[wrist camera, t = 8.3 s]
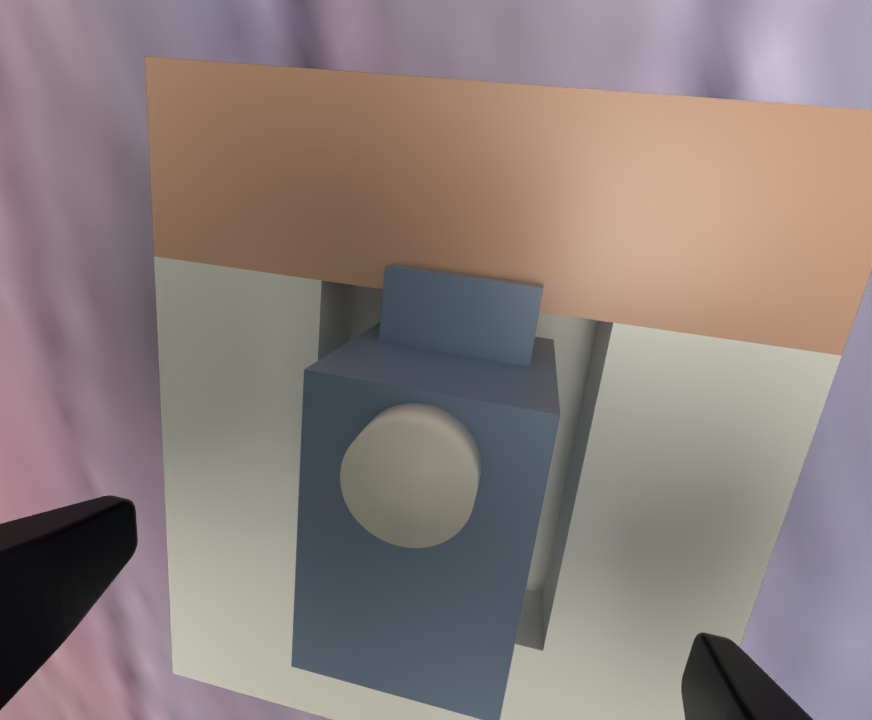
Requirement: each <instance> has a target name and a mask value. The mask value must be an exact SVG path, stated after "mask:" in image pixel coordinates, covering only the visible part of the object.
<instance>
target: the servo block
mask: <svg viewBox="0 0 872 720" xmlns="http://www.w3.org/2000/svg"><path fill="white" fill-rule="evenodd" d="M542 294H543V284H537V283H530V282H523V281H516V280H508V279H501V278H494V277H487V276H480V275H472V274H465V273H458V272H451V271H444V270H437V269H429V268H422V267H415V266H408V265H401V264H390V265H387V266H385V272H384V283H383V295H382V307H381V318H380V322H379V323H378V324H376V325H374V326H373V327H371V328H370V329H368V330H366V331H365V332H363V333H362V334H360V335H358V336H357V337H355V338H354V339H352V340H350V341H349V342H347V343H346V344H344V345H342V346H341V347H339V348H338V349H336V350H334V351H333V352H331V353H330V354H328V355H326V356H325V357H323V358H321V359H320V360H318V361H317V362H315V363H313V364H312V365H310V366H309V367H307V368H305V369H304V380H303V404H302V427H301V450H300V474H299V497H298V520H297V544H296V567H295V590H294V614H293V637H292V660H291V666H292V667H295V668H299V669H302V670H306V671H309V672H313V673H317V674H320V675H324V676H327V677H331V678H335V679H338V680H342V681H345V682H349V683H352V684H356V685H360V686H363V687H367V688H370V689H374V690H378V691H381V692H385V693H388V694H392V695H395V696H399V697H403V698H406V699H410V700H413V701H417V702H421V703H424V704H428V705H431V706H435V707H438V708H442V709H446V710H449V711H453V712H456V713H460V714H464V715H467V716H471V717H474V718H478V719H481V720H500V716H501V711H502V706H503V701H504V696H505V691H506V686H507V681H508V676H509V671H510V666H511V661H512V656H513V651H514V646H515V641H516V636H517V631H518V626H519V621H520V616H521V611H522V606H523V601H524V596H525V591H526V586H527V581H528V576H529V571H530V565H531V560H532V555H533V550H534V545H535V540H536V535H537V530H538V525H539V520H540V515H541V510H542V505H543V500H544V495H545V490H546V485H547V480H548V475H549V470H550V465H551V460H552V455H553V450H554V445H555V440H556V435H557V430H558V425H559V420H560V406H559V395H558V384H557V373H556V361H555V350H554V340H553V339H547V338H540V337H535V334H536V328H537V322H538V317H539V311H540V305H541V299H542Z"/></svg>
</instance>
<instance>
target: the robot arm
mask: <svg viewBox="0 0 872 720" xmlns="http://www.w3.org/2000/svg"><path fill="white" fill-rule="evenodd" d="M137 542H138V538H137V523H136V509H135V505H134V503H133V502H132V501H130V500H129V499H125V498H120V497H116V496H103V497H99V498H96V499H92V500H88V501H84V502H81V503H77V504H73V505H69V506H66V507H62V508H58V509H54V510H51V511H47V512H43V513H39V514H36V515H32V516H28V517H24V518H21V519H17V520H13V521H9V522H6V523H2V524H0V710H1V709H2V708H3V707H4V706H5V705H6V704H7V703H8V702H9V701H10V699H11V698H12V697H13V696H14V695H15V694H16V693H17V692H18V691H19V690H20V689H21V688H22V687H23V686H24V684H25V683H26V682H27V681H28V680H29V679H30V678H31V677H32V676H33V675H34V674H35V673H36V672H37V671H38V669H39V668H40V667H41V666H42V665H43V664H44V663H45V662H46V661H47V660H48V659H49V658H50V657H51V656H52V654H53V653H54V652H55V651H56V650H57V649H58V648H59V647H60V646H61V644H62V643H63V642H64V641H65V640H66V639H67V638H68V636H69V635H70V634H71V633H72V632H73V630H74V629H75V628H76V627H77V626H78V624H79V623H80V622H81V621H82V619H83V618H84V617H85V616H86V614H87V613H88V612H89V610H90V609H91V608H92V607H93V605H94V604H95V603H96V602H97V600H98V599H99V598H100V597H101V595H102V594H103V593H104V592H105V590H106V589H107V588H108V587H109V585H110V584H111V583H112V582H113V580H114V579H115V578H116V576H117V575H118V574H119V573H120V571H121V570H122V569H123V568H124V566H125V565H126V564H127V563H128V561H129V560H130V559H131V557H132V556H133V554H134V552H135V550H136V547H137ZM681 694H682V701H683V708H684V715H685V720H813V719H812V718H811V717H810V716H809V715H808V714H807V713H806V712H805V711H804V710H803V709H802V708H801V707H800V706H799V705H798V704H797V703H796V702H795V701H794V700H793V699H792V698H791V697H790V696H789V695H788V694H787V693H786V692H785V691H784V690H783V689H782V688H781V687H780V686H779V685H777V684H776V683H775V682H774V681H773V680H772V679H771V678H770V677H769V676H768V675H767V674H766V673H765V672H764V671H763V670H762V669H761V668H760V667H759V666H758V665H757V664H756V663H755V662H754V661H753V660H752V659H751V658H750V657H749V656H748V655H747V654H746V653H745V652H744V651H743V650H742V649H741V648H740V647H739V646H738V645H737V644H736V643H734V642H733V641H732V640H731V639H729V638H726V637H722V636H718V635H713V634H709V633H705V632H701V633H699V634H697V635H696V637H695V639H694V641H693V644H692V647H691V651H690V654H689V657H688V660H687V663H686V666H685V669H684V673H683V676H682V682H681Z"/></svg>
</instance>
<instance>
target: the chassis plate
mask: <svg viewBox="0 0 872 720" xmlns="http://www.w3.org/2000/svg"><path fill="white" fill-rule="evenodd" d="M145 68H146V90H147V112H148V134H149V156H150V178H151V200H152V222H153V244H154V265H155V287H156V309H157V331H158V353H159V375H160V397H161V419H162V441H163V463H164V485H165V507H166V529H167V551H168V573H169V595H170V617H171V639H172V661H173V673H174V674H177V675H181V676H184V677H187V678H191V679H194V680H198V681H201V682H205V683H208V684H212V685H215V686H219V687H222V688H225V689H229V690H232V691H236V692H239V693H243V694H246V695H250V696H253V697H256V698H260V699H263V700H267V701H270V702H274V703H277V704H281V705H284V706H288V707H291V708H294V709H298V710H301V711H305V712H308V713H312V714H315V715H319V716H322V717H325V718H329V719H332V720H481V719H478V718H474V717H471V716H467V715H464V714H460V713H456V712H453V711H449V710H446V709H442V708H438V707H435V706H431V705H428V704H424V703H421V702H417V701H413V700H410V699H406V698H403V697H399V696H395V695H392V694H388V693H385V692H381V691H378V690H374V689H370V688H367V687H363V686H360V685H356V684H352V683H349V682H345V681H342V680H338V679H335V678H331V677H327V676H324V675H320V674H317V673H313V672H309V671H306V670H302V669H299V668H295V667H292V666H291V660H292V637H293V614H294V590H295V567H296V544H297V520H298V497H299V474H300V450H301V427H302V404H303V380H304V369H305V368H307V367H309V366H310V365H312V364H313V363H315V362H317V361H318V360H320V359H321V358H323V357H325V356H326V355H328V354H330V353H331V352H333V351H334V350H336V349H338V348H339V347H341V346H342V345H344V344H346V343H347V342H349V341H350V340H352V339H354V338H355V337H357V336H358V335H360V334H362V333H363V332H365V331H366V330H368V329H370V328H371V327H373V326H374V325H376V324H378V323H379V322H380V318H381V307H382V295H383V283H384V272H385V266H387V265H390V264H401V265H408V266H415V267H422V268H429V269H437V270H444V271H451V272H458V273H465V274H472V275H480V276H487V277H494V278H501V279H508V280H516V281H523V282H530V283H537V284H543V294H542V299H541V305H540V311H539V317H538V322H537V328H536V334H535V337H540V338H547V339H553V340H554V350H555V361H556V373H557V384H558V395H559V406H560V420H559V425H558V430H557V435H556V440H555V445H554V450H553V455H552V460H551V465H550V470H549V475H548V480H547V485H546V490H545V495H544V500H543V505H542V510H541V515H540V520H539V525H538V530H537V535H536V540H535V545H534V550H533V555H532V560H531V565H530V571H529V576H528V581H527V586H526V591H525V596H524V601H523V606H522V611H521V616H520V621H519V626H518V631H517V636H516V641H515V646H514V651H513V656H512V661H511V666H510V671H509V676H508V681H507V686H506V691H505V696H504V701H503V706H502V711H501V716H500V720H685V715H684V708H683V701H682V694H681V682H682V676H683V673H684V669H685V666H686V663H687V660H688V657H689V654H690V651H691V647H692V644H693V641H694V639H695V637H696V635H697V634H699V633H701V632H705V633H709V634H713V635H718V636H722V637H726V638H729V639H731V640H732V641H733V642H734V643H736V644H737V645H738V646H739V647H740V644H741V641H742V638H743V636H744V633H745V630H746V627H747V624H748V621H749V618H750V616H751V613H752V610H753V607H754V604H755V601H756V599H757V596H758V593H759V590H760V587H761V584H762V581H763V579H764V576H765V573H766V570H767V567H768V564H769V562H770V559H771V556H772V553H773V550H774V547H775V544H776V542H777V539H778V536H779V533H780V530H781V527H782V525H783V522H784V519H785V516H786V513H787V510H788V507H789V505H790V502H791V499H792V496H793V493H794V490H795V487H796V485H797V482H798V479H799V476H800V473H801V470H802V468H803V465H804V462H805V459H806V456H807V453H808V450H809V448H810V445H811V442H812V439H813V436H814V433H815V431H816V428H817V425H818V422H819V419H820V416H821V413H822V411H823V408H824V405H825V402H826V399H827V396H828V393H829V391H830V388H831V385H832V382H833V379H834V376H835V374H836V371H837V368H838V365H839V362H840V359H841V356H842V354H843V351H844V348H845V345H846V342H847V339H848V337H849V334H850V331H851V328H852V325H853V322H854V319H855V317H856V314H857V311H858V308H859V305H860V302H861V300H862V297H863V294H864V291H865V288H866V285H867V282H868V280H869V277H870V274H871V271H872V110H865V109H852V108H838V107H825V106H811V105H798V104H784V103H771V102H757V101H744V100H730V99H717V98H703V97H690V96H676V95H663V94H649V93H635V92H622V91H608V90H595V89H581V88H568V87H554V86H541V85H527V84H514V83H500V82H487V81H473V80H460V79H446V78H433V77H419V76H406V75H392V74H379V73H365V72H352V71H338V70H324V69H311V68H297V67H284V66H270V65H257V64H243V63H230V62H216V61H203V60H189V59H176V58H162V57H149V56H145Z"/></svg>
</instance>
